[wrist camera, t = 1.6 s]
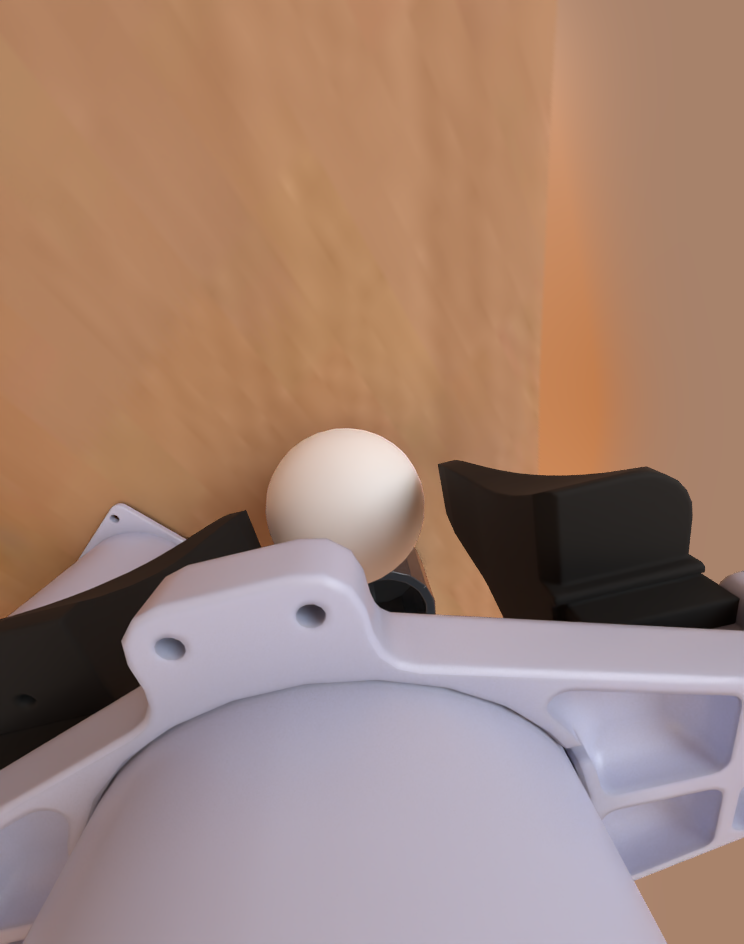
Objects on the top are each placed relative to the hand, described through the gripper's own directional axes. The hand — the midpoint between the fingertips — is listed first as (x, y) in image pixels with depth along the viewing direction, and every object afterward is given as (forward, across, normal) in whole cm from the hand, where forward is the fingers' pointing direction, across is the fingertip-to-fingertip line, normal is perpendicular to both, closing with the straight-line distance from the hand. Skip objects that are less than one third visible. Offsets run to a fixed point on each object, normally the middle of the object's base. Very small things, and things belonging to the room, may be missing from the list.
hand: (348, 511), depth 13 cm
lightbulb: (+9, 0, 0) cm, 9 cm away
